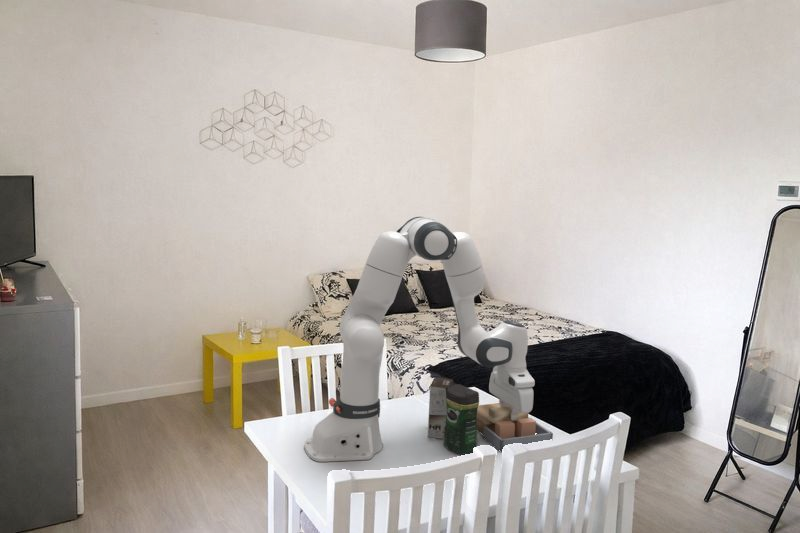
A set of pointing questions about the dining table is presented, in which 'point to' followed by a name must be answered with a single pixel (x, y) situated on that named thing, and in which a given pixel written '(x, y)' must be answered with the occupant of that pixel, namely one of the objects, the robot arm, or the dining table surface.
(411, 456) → the dining table surface
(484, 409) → the board
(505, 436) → the tile
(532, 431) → the tile
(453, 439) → the coffee jar
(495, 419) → the beige wooden block
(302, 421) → the dining table surface
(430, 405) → the coffee box
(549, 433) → the tray
